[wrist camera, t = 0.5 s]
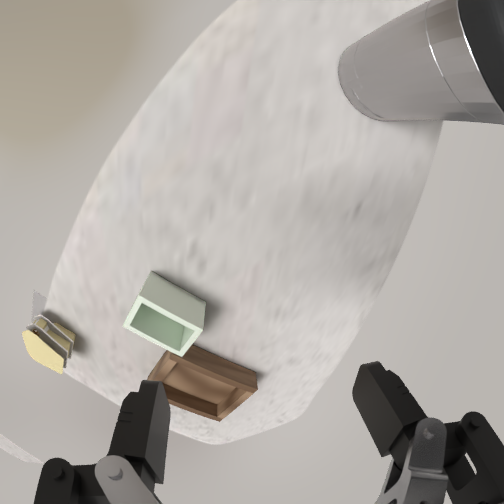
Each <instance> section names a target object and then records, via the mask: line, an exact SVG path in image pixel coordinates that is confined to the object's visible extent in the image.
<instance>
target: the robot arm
mask: <svg viewBox="0 0 504 504" xmlns="http://www.w3.org/2000/svg"><path fill="white" fill-rule="evenodd" d="M338 73H339V80H340V84H341V87H342V89H343V91H344V93H345V95H346V96H347V98H348V99H349V101H350V102H351V103H352V104H353V105H354V107H355V108H356V109H358V110H359V111H360V112H362V113H363V114H364V115H366V116H368V117H370V118H373V119H376V120H381V121H394V120H450V121H470V122H483V123H494V124H503V125H504V0H430V1H428V2H426V3H424V4H422V5H420V6H418V7H416V8H414V9H412V10H410V11H408V12H406V13H404V14H402V15H401V16H399V17H397V18H395V19H393V20H392V21H390V22H388V23H386V24H385V25H383V26H381V27H380V28H378V29H376V30H375V31H373V32H371V33H370V34H368V35H366V36H365V37H363V38H362V39H360V40H358V41H357V42H355V43H354V44H352V45H351V46H349V47H348V48H347V49H346V50H345V51H344V52H343V54H342V56H341V58H340V61H339V66H338ZM352 394H353V400H354V402H355V404H356V406H357V408H358V410H359V412H360V414H361V416H362V418H363V420H364V422H365V424H366V426H367V428H368V430H369V432H370V434H371V436H372V438H373V440H374V442H375V444H376V446H377V448H378V450H379V453H380V455H381V457H384V456H387V455H389V454H391V455H392V457H393V459H392V460H391V463H390V466H389V470H388V473H387V476H386V479H385V482H384V485H383V488H382V491H381V493H380V495H379V497H378V499H377V501H376V502H375V504H443V503H444V498H445V493H446V490H447V492H448V495H449V497H450V499H451V501H452V504H504V445H503V444H502V442H501V441H500V439H499V438H498V436H497V435H496V433H495V432H494V430H493V429H492V427H491V426H490V424H489V423H488V422H487V420H486V419H485V417H484V416H483V415H482V414H480V413H478V412H469V413H466V414H465V415H464V417H463V418H462V419H461V421H458V422H452V423H445V424H443V422H441V421H440V420H438V419H435V418H428V417H427V416H426V414H425V413H424V412H423V410H422V409H421V407H420V406H419V405H418V403H417V401H416V400H415V398H414V397H413V396H412V394H411V393H409V390H408V388H407V387H406V386H405V384H404V383H403V381H402V380H401V379H400V377H399V376H397V375H396V374H395V373H393V372H392V371H390V370H388V371H386V370H385V369H384V367H383V366H382V365H381V363H380V362H378V361H376V362H371V363H367V364H362V365H361V366H360V368H359V371H358V375H357V377H356V381H355V384H354V387H353V392H352ZM169 424H170V406H169V402H168V399H167V396H166V393H165V389H164V386H163V383H162V381H152V380H143V381H142V382H141V385H140V389H139V392H130V393H129V394H128V396H127V397H126V398H125V399H124V400H123V403H122V406H121V409H120V413H119V416H118V422H117V423H116V427H115V430H114V434H113V437H112V441H111V445H110V449H109V452H108V454H107V456H106V457H104V458H102V459H100V460H99V461H98V463H96V464H92V465H76V466H72V465H70V463H69V462H67V461H66V460H64V459H61V458H53V459H50V460H48V461H47V462H46V463H45V464H44V466H43V468H42V472H41V475H40V479H39V483H38V487H37V491H36V495H35V500H34V504H162V502H161V501H160V500H159V499H158V497H157V496H156V495H155V493H154V486H155V483H159V484H163V481H164V469H165V458H166V449H167V440H168V431H169ZM466 453H467V454H468V455H469V457H470V459H471V461H472V462H473V464H474V466H475V468H476V471H477V473H476V475H475V473H474V471H473V469H472V467H471V466H470V464H469V462H468V460H467V458H466V457H465V454H466Z"/></svg>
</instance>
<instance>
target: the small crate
mask: <svg viewBox="0 0 504 504" xmlns="http://www.w3.org/2000/svg"><path fill="white" fill-rule="evenodd" d="M205 307H206V302H205V301H203V300H201V299H199V298H198V297H196V296H194V295H192V294H190V293H189V292H187V291H185V290H183V289H182V288H180V287H178V286H176V285H175V284H173V283H171V282H169V281H168V280H166V279H164V278H162V277H161V276H159V275H157V274H156V273H154V272H152V271H151V272H150V274H149V276H148V277H147V279H146V281H145V283H144V285H143V287H142V288H141V290H140V292H139V294H138V296H137V298H136V300H135V302H134V304H133V306H132V308H131V310H130V312H129V314H128V316H127V318H126V320H125V322H124V324H123V327H125V328H126V329H128V330H130V331H132V332H134V333H135V334H137V335H139V336H141V337H143V338H145V339H147V340H149V341H150V342H152V343H154V344H156V345H158V346H160V347H162V348H164V349H166V350H168V351H170V352H172V353H174V354H177V355H179V356H181V357H182V356H183V355H184V354H185V353H186V351H187V350H188V349H189V347H190V346H191V345H192V344H193V342H194V341H195V340H196V338H197V337H198V336H199V335H200V333H201V332H202V331H203V327H204V317H205Z"/></svg>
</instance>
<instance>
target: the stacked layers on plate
mask: <svg viewBox="0 0 504 504" xmlns="http://www.w3.org/2000/svg"><path fill="white" fill-rule="evenodd" d="M46 303H47V298H46V297H44V296H43V295H41V294H40V293H38V292H37V291H35V290H34V293H33V306H32V324H29V325H27V330H26V331H24V332H22V335H23V338H24V342H25V345H26V348H27V351H28V353H29V355H30V356H31V357H32V358H33V359H34V360H35V361H37V362H39V363H40V364H42V365H44V366H46V367H48V368H50V369H52V370H54V371H56V372H58V373H60V374H62V372H63V367H64V368H66V364H67V358H70V359H71V356H72V350H73V346H74V340H75V335H76V334H74V333H72V332H70V331H69V330H67V329H65V328H64V327H62V326H61V325H59V324H57V323H56V322H55V323H54V324H53V323H52V322H51V321H50V320H49V319H47V318H46V317H44V316H43V312H44V309H45V306H46Z"/></svg>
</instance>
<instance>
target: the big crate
mask: <svg viewBox="0 0 504 504" xmlns="http://www.w3.org/2000/svg"><path fill="white" fill-rule="evenodd" d="M147 380H152V381H162V383H163V386H164V389H165V393H166V396H167V399H168V402H169V404H172V405H174V406H177V407H179V408H182V409H184V410H187V411H190V412H193V413H195V414H198V415H201V416H204V417H207V418H210V419H213V420H216V421H219V422H220V421H221V420H222V419H223V418H225V417H226V416H227V415H228V414H230V413H231V412H232V411H233V410H234V409H236V408H237V407H238V406H239V405H240V404H242V403H243V402H244V401H245V400H246V399H248V398H249V397H250V396H251V395H252V394H253V393H254V392H256V391H257V390H258V387H257V379H256V372H254V371H251V370H249V369H246V368H244V367H241V366H239V365H237V364H234V363H232V362H230V361H227V360H225V359H223V358H221V357H218V356H216V355H214V354H212V353H209V352H207V351H205V350H203V349H201V348H199V347H197V346H195V345H191V346H190V347H189V349H188V350H187V351H186V353H185V354H184V355H183V356H182V357H181V356H179V355H177V354H174V353H172V352H170V351H168V350H166V352H165V353H164V355H163V356H162V357H161V359H160V360H159V362H158V363H157V365H156V366H155V367H154V369H153V370H152V372H151V373H150V375H149V376H148V379H147Z"/></svg>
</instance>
